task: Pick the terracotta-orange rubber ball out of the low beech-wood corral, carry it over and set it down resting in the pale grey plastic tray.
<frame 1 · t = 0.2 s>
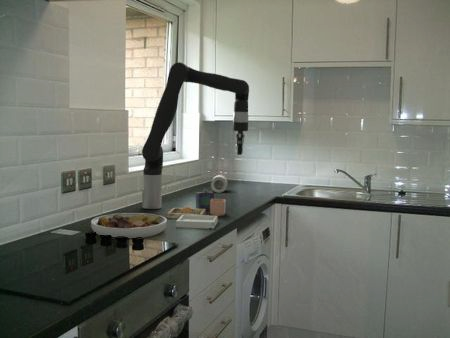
hand: (239, 154, 245), 29 cm above the countertop, tool pointing down, fingers open, 8 cm apart
bowl: (129, 232, 199), on the countertop
ball: (186, 211, 233), point 2 cm above the countertop
tray: (197, 224, 215), on the countertop
toilet paper: (219, 191, 313), on the countertop
flask: (204, 210, 249), on the countertop
corral: (186, 215, 233), on the countertop
cup: (217, 214, 238), on the countertop
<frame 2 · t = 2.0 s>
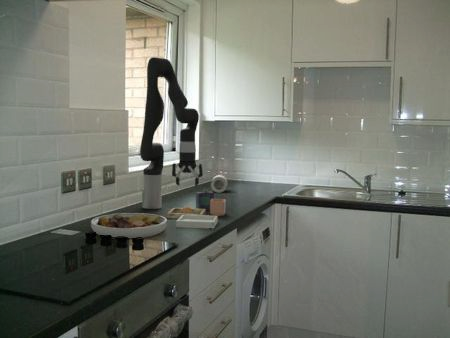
hand: (187, 185, 232), 14 cm above the countertop, tool pointing down, fingers open, 8 cm apart
nothing on the countertop moved.
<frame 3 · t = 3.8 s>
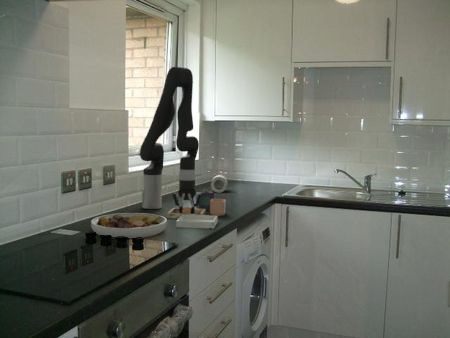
hand: (186, 214, 233), 1 cm above the countertop, tool pointing down, fingers closed on ball, 4 cm apart
ball: (186, 211, 233), point 2 cm above the countertop, touching gripper
everything else where it was.
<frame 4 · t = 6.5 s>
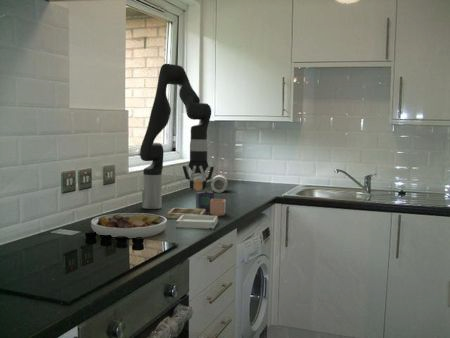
hand: (198, 189, 213), 16 cm above the countertop, tool pointing down, fingers closed on ball, 4 cm apart
ball: (198, 185, 213), point 17 cm above the countertop, touching gripper
everything else where it was.
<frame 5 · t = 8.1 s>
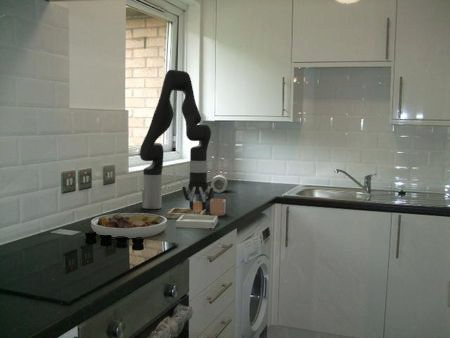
hand: (197, 209, 214), 6 cm above the countertop, tool pointing down, fingers closed on ball, 4 cm apart
ball: (197, 206, 214), point 8 cm above the countertop, touching gripper
everything else where it was.
when the fingers open (3 cm above the countertop, at t = 9.3 s): ball stays where it is, resting on tray.
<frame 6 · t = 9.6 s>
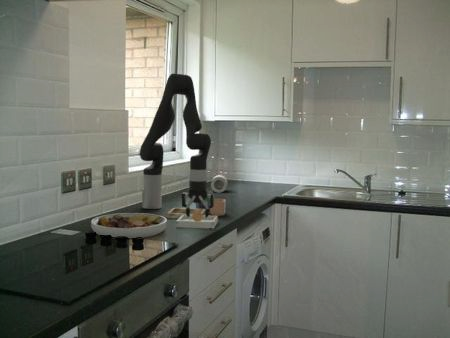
hand: (197, 216, 214), 3 cm above the countertop, tool pointing down, fingers open, 7 cm apart
ball: (197, 216, 214), point 3 cm above the countertop, touching tray
everything else where it was.
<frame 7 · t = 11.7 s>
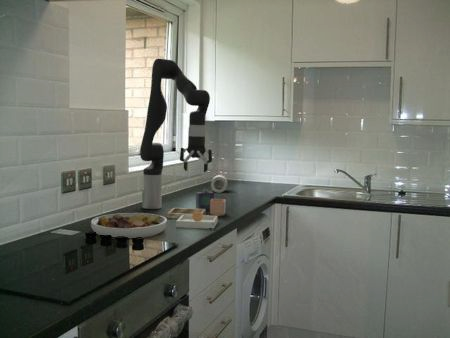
hand: (195, 171, 220), 22 cm above the countertop, tool pointing down, fingers open, 8 cm apart
nothing on the countertop moved.
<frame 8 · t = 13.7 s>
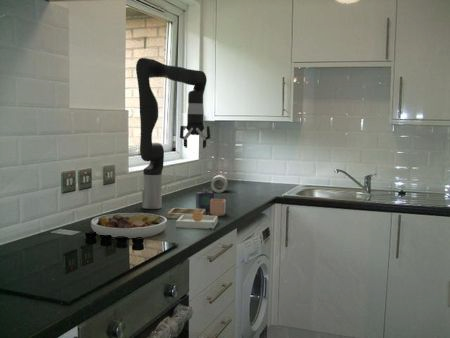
hand: (195, 147, 233), 32 cm above the countertop, tool pointing down, fingers open, 8 cm apart
nothing on the countertop moved.
at the end: ball inside the target area on the tray (0.0 cm from its centre), point 3.4 cm above the tray's base; the gripper is holding nothing; ball touching tray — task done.
